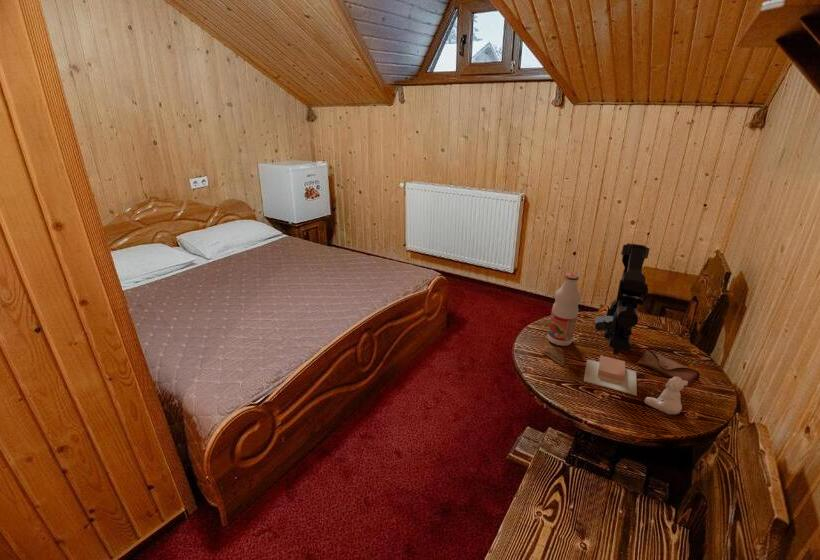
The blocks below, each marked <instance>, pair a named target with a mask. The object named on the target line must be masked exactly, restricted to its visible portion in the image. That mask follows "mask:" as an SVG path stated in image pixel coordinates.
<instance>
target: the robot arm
mask: <svg viewBox="0 0 820 560" xmlns="http://www.w3.org/2000/svg"><path fill="white" fill-rule="evenodd" d="M649 253H650V248H649V247H647V246H646V245H644V244H637V243H626V244H623V245H622V247H621V252H620V255H621V256H622V257H621V262H622V264H623V271H622V276H621V279H619V282H618V287H617V288H618V289H617V294H616V298H615V299H614V300H613V301H611V303H610V306H609V307H608V308H607V310H606V313H605V315H603V316H601V315H600V316H596V317H594V321H593V322H594V328H595V330H596V331H597V332H600V331H604V334H603V337H604V338H606V339H607V338H608V339H609V340H608V347H610V348H612V349H613V352H612V353H613V355H614V356H617V355H618V354H619V353H621V352H622V351H625V352H631V349H632V346H633V345H632V340H631V338H630V336H631V335H632V333H633V331H632V328H633V327H635V326H636V325H638V322H639V311H638V307H639V306H644V305H645V303H646V302H647V300H648V293H649V286H648V284H647V283H646V276H645V274H643V265H644V262H645V260H647V259H648V258H649Z"/></svg>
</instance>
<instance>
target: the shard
mask: <svg viewBox="0 0 820 560" xmlns="http://www.w3.org/2000/svg"><path fill="white" fill-rule="evenodd" d="M542 354H543V355H545V356H547V357H548V358H550V359H551V360H553V361H554V362H556V363H557V364H558V365H560V366H562V367H565V366H566V365H565V353H564V349H562V348H560V347H557V346H552V345H544V349H543V351H542Z"/></svg>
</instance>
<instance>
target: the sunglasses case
mask: <svg viewBox="0 0 820 560" xmlns="http://www.w3.org/2000/svg"><path fill="white" fill-rule="evenodd" d="M645 350H646V351H645V352H644V353H643V355H642V356H641V357H640V359H639V360H638V361H637V362H636V364H637V365H639V366H642V367H644V368H647V369H649V370H651V371H653V372H655V373H658V374H660V375H661V376H664V377H666V378H667V379H672V378H673V377H679V378H681V379H682V380H683V381H688V384H687V385H685V386H684V387H686V388H689V387H690V386H691V385H692V384H694V383H695V382H697V380H698V381H699V378H700V372H699V371H698V370H696V369H693V368H690V367H687V366H686V365H683V364H681V363H679V362H677V361H674V360H673V359H670V358H668V357H665V356H663V355H662V354H661V355H660V354H658V353H656V352H654V351H653V350H651V349H645Z"/></svg>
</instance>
